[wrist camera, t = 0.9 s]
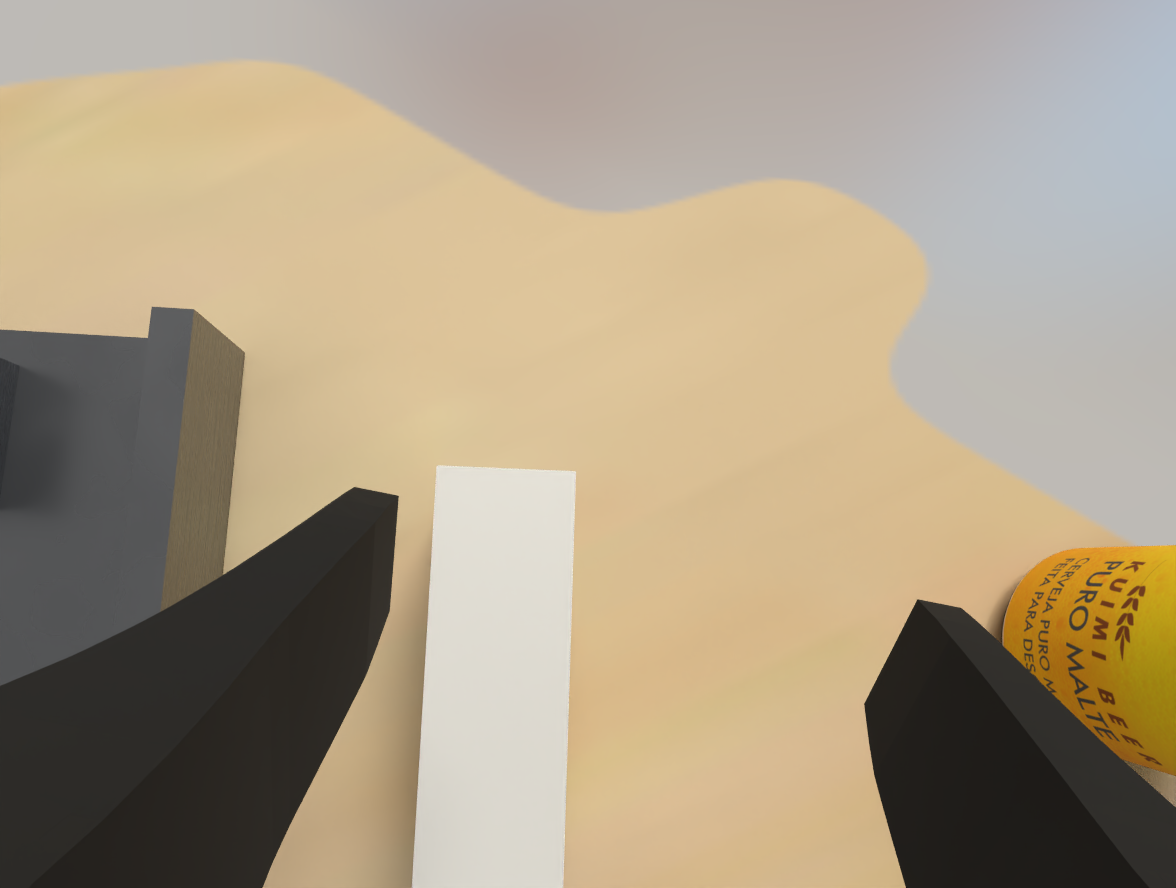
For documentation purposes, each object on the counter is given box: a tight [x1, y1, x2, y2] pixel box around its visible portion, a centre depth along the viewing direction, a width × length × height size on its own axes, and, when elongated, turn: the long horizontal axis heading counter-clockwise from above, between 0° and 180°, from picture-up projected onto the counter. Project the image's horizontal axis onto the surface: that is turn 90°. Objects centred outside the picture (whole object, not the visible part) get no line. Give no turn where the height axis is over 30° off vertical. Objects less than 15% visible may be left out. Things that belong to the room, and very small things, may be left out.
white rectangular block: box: [412, 465, 576, 888], centre depth 20 cm, size 10×3×7 cm, turn 179°
